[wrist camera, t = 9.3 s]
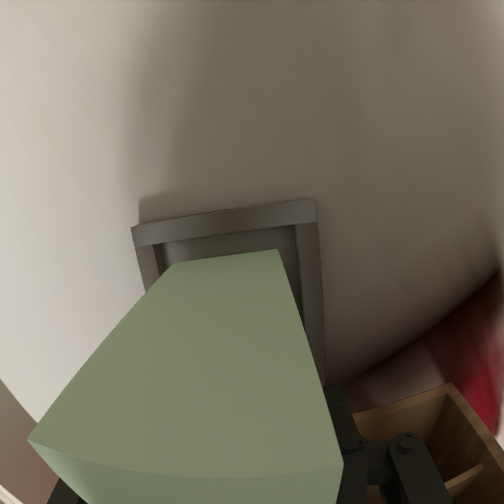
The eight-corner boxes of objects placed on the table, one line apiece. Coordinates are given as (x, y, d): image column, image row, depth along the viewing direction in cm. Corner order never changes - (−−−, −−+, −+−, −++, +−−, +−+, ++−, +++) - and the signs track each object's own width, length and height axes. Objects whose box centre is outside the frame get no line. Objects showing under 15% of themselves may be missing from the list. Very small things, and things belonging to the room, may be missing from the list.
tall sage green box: (295, 424, 16) (314, 572, 5) (206, 431, 16) (183, 572, 6) (277, 248, 13) (343, 464, 3) (154, 265, 13) (-2, 426, 3)
